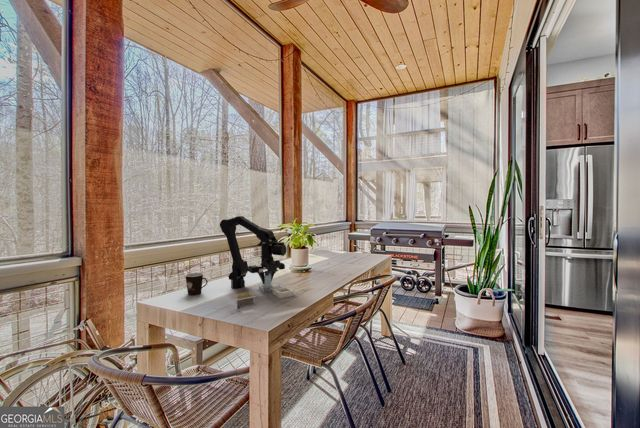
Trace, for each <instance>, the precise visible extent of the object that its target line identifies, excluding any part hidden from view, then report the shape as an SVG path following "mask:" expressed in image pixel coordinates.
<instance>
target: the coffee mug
mask: <svg viewBox="0 0 640 428" xmlns="http://www.w3.org/2000/svg"><path fill="white" fill-rule="evenodd" d="M184 276H185V281H186V282H185V283H186V289H187V295H188V296H192V297H193V296H198V295H201V294H202V289H203V288H204V287H206V286H207V285H208V282H209V281H208V279H207V278H206V277H204V273H202V272H192V273H188V274H187V273H186V274H185V275H184ZM203 280H205V281H206V282H205V284H204V285H203Z"/></svg>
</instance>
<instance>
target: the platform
mask: <svg viewBox="0 0 640 428" xmlns="http://www.w3.org/2000/svg"><path fill="white" fill-rule="evenodd" d="M254 298H257V295H256V294H252V293H251V292H249V291H248V292H247V291H246V292H243V293H241V292H240V293H237V296H235V297H234V301H236V308H237V310H238V309H241V307H240V306H243V305H249V304H254V303H255V302H254V300H255V299H254Z"/></svg>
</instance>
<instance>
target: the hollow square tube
mask: <svg viewBox="0 0 640 428" xmlns="http://www.w3.org/2000/svg"><path fill="white" fill-rule="evenodd" d="M275 287H276V286H274V285H273V284H271V287H267V288H264V287H263V284H262V285H261V284H260V285H259V286H258V289H259V291H261V292H262V293H269V292H273V289H275Z"/></svg>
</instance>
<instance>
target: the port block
mask: <svg viewBox="0 0 640 428" xmlns="http://www.w3.org/2000/svg"><path fill="white" fill-rule="evenodd" d="M273 294H274V295H275V296H277V297H278V298H284V297H289V296H294V294H295V290H293V289H291V288H290V287H287V286H286V287H282V288H278V289H273Z"/></svg>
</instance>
